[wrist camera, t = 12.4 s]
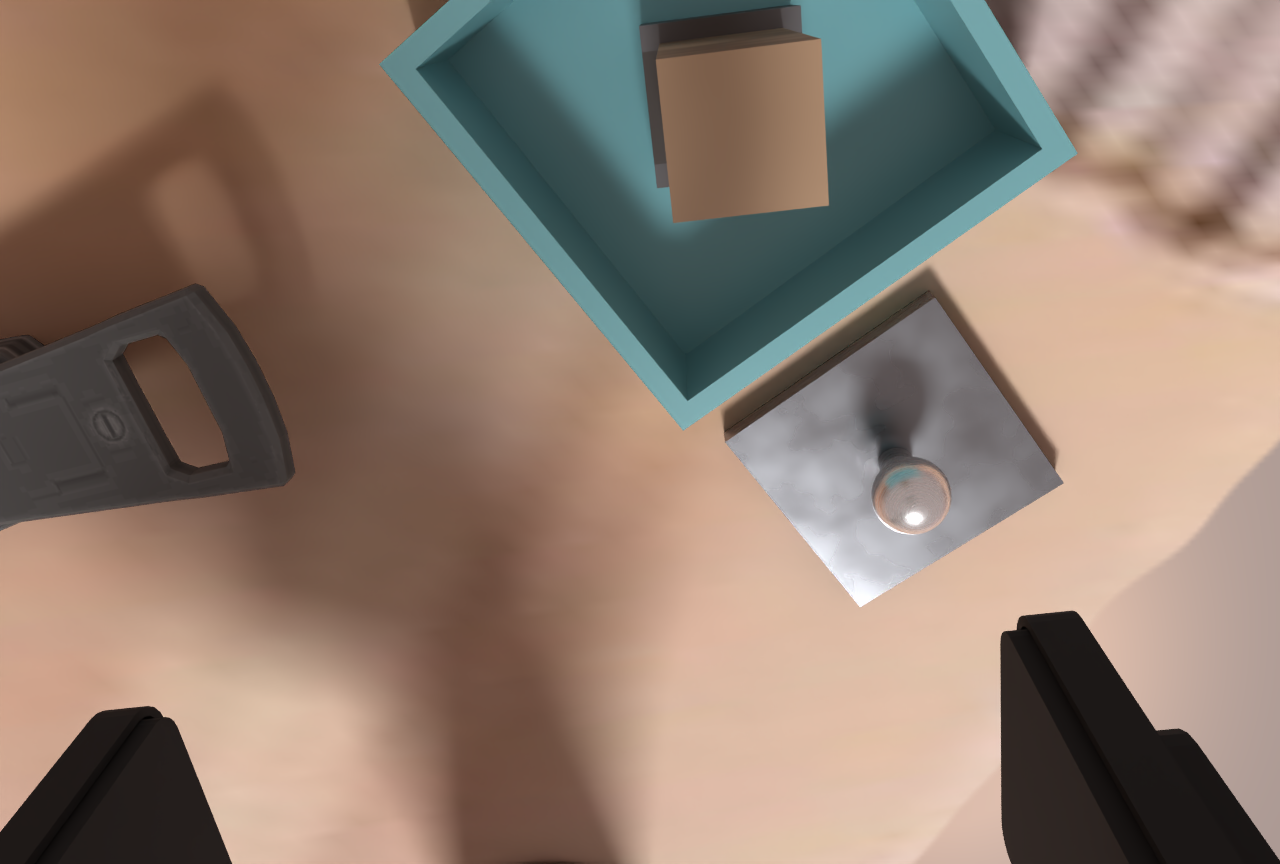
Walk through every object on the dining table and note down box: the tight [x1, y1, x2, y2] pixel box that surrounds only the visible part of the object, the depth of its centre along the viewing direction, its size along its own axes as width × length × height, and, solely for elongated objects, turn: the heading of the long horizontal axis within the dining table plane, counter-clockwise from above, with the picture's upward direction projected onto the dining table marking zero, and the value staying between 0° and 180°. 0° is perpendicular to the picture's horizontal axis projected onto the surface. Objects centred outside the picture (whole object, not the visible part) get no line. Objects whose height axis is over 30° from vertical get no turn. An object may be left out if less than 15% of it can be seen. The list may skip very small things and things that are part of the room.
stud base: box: [724, 291, 1063, 607], centre depth 40 cm, size 10×10×6 cm
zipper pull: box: [0, 284, 295, 531], centre depth 40 cm, size 9×7×25 cm
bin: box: [379, 0, 1078, 430], centre depth 35 cm, size 16×16×6 cm
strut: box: [639, 5, 829, 223], centre depth 31 cm, size 5×5×12 cm
